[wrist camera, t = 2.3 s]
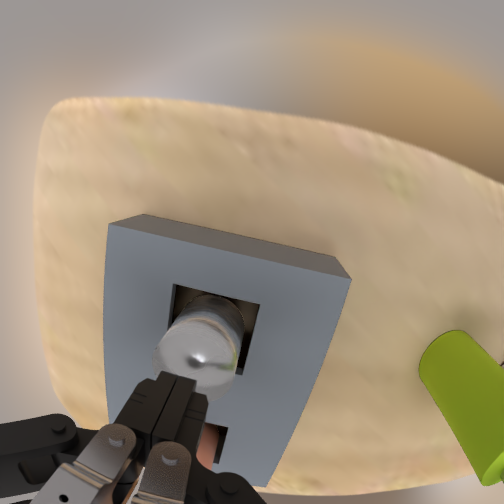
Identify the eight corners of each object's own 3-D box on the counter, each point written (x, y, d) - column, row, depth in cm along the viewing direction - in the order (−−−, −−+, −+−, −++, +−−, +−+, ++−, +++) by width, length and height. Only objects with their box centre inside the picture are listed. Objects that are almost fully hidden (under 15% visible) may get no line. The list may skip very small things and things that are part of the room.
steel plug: (251, 303, 18) (241, 346, 13) (237, 359, 19) (226, 410, 14) (185, 287, 18) (154, 324, 13) (177, 343, 19) (150, 389, 14)
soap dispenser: (398, 368, 22) (493, 569, 3) (460, 317, 21) (607, 472, 2) (422, 401, 23) (500, 568, 4) (477, 356, 22) (589, 495, 2)
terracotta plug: (222, 421, 20) (211, 471, 15) (215, 451, 21) (204, 497, 16) (171, 407, 20) (149, 453, 15) (168, 438, 21) (150, 481, 16)
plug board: (335, 257, 21) (351, 279, 16) (268, 449, 25) (265, 487, 21) (142, 214, 21) (108, 223, 16) (131, 413, 26) (112, 446, 21)
